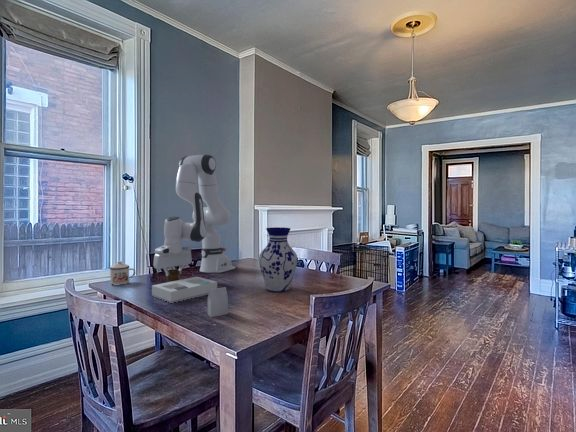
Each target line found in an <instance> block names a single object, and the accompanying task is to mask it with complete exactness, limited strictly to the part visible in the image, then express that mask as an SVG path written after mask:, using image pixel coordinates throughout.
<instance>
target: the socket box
mask: <svg viewBox="0 0 576 432" xmlns="http://www.w3.org/2000/svg"><path fill="white" fill-rule="evenodd" d="M216 288H218V281H216V280H213V279H208V278H205V277H200V276H193V277H188V278H183V279H179V280H177V281H172V282H168V281H167V282H163V283H158V284H153V285H151V297H152V296H154V297H153V298H155V297H156V298H155V299H157V298H159V299H158V300H160V299H162V300H161V301H163V300H164V301H163V302H165V301H167V302H166V303H168V302H169V303H168V304H170V303H172V304H175V303H174V302H176V303H179V302H178V301H180V302H184V301H186V300H187V299H188V300H190V299H191V298H192V299H194V298H195V297H196V298H199V297H203V296H207V295H208V294H209V289H216ZM183 300H184V301H183Z"/></svg>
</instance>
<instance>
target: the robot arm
mask: <svg viewBox="0 0 576 432" xmlns="http://www.w3.org/2000/svg"><path fill="white" fill-rule="evenodd" d="M216 168H217V162H216V159H215V157H214V156H213V155H210V154H195V155H194V154H193V155H189V156H188V155H186V156H183V157H180V159H179V162H178V171H177V173H176V174H177V175H176V178H175V179H176V180H175V193H176V194H177V196H178V197H179V198H180V199H181V200H183V201H186V202H188V203H189V204H191V206H192V210H193V211H192V216H191V217H192V220H193V222H187V221H186V222H184V221H183V220H182V219H181V217H180V216H169V217H167V218H166V219H165V220H164V224H163V225H164V226H163V236H164V241H163V245H160V246H159V247H156V248H155V249H154V253H155V254H154V256H153V264H152V265H153V268H155V270H160V269H162V270H163V271H164V272H165V277H167V276H169V275H170V272H168V270H169V268H175V267H179V268H178V270H179V272H178V273H179V275H181V274H182V270H183V268H184V265H185V266H186V265H191V264H192V262H193V261H192V260H193V258H192V249H191V248H190V247H189V246H183V241H189V242H190V241H191V242H196V243H199V242H201V248H200V249H201V252H200V253H201V262H200V268H199V272H201V273H217V274H218V273H224V272H228V271H231V270H235V269H236V266H234V265H232V260H231V258H230V257H229V256H227V255H226V254H225V253H224V252H226V251H227V248H226V247H222V246H221V238H222V237H221V234H220V232H218V231H217V230H216V228H215V226H224V225H227V224H229V222H230V220H231V216H232V215H231V212H230V210H229V209H228V208H226V207H225V206H224V204H223V202H222V201H221V199H220V195H219V189H218V179H217V175H216V174H217V173H216V171H215V170H216ZM203 203H205V205H206V206H204V204H203ZM174 263H176V264H174ZM173 264H174V265H173Z"/></svg>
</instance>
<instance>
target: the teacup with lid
mask: <svg viewBox="0 0 576 432" xmlns="http://www.w3.org/2000/svg"><path fill="white" fill-rule="evenodd" d="M109 270H110V273H109V275H110V285H111V284H125V285H127V284H126V283H128V284H130V279H131V278H133V277H134V276H135V275H136V269H134V268H131V267H130V265H129V264H126V263H124V262H123V261H122V260H118V261H117V262H116V263H114V264H113V265H110V267H109ZM130 271H133V274H132V275H131V276H130Z"/></svg>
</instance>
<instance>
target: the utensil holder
mask: <svg viewBox="0 0 576 432" xmlns="http://www.w3.org/2000/svg"><path fill="white" fill-rule="evenodd" d="M174 264H176V263H174ZM174 264H173V265H174ZM167 271H168V272H170V275H169V276H166V277H167V278H166V279H167V280H166V281H167V282H172V281H177V280H180V274H179V273H178V272H179V269H177V268H174V267H171V269H168V270H167Z"/></svg>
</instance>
